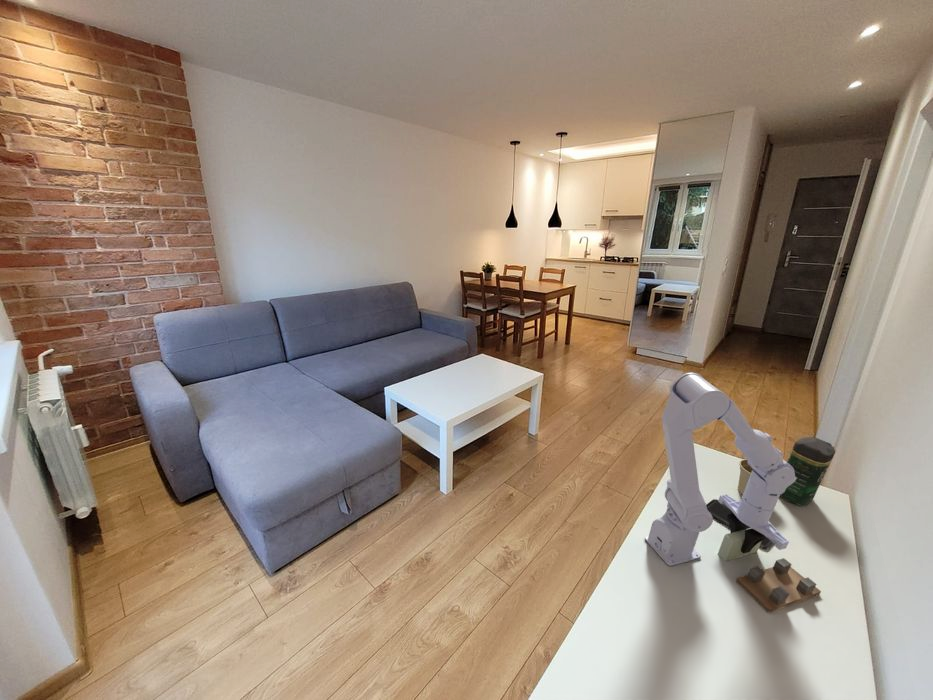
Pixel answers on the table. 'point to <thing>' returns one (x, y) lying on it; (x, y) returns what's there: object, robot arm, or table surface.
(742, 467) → the flower pot
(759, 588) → the rail
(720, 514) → the phone
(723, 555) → the door panel
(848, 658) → the table surface
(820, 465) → the coffee jar
